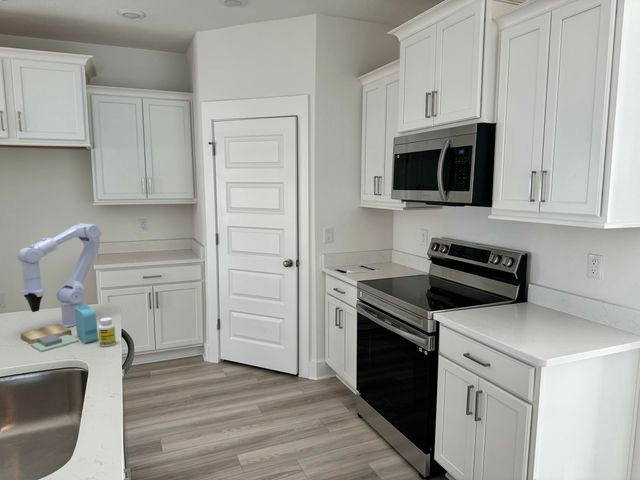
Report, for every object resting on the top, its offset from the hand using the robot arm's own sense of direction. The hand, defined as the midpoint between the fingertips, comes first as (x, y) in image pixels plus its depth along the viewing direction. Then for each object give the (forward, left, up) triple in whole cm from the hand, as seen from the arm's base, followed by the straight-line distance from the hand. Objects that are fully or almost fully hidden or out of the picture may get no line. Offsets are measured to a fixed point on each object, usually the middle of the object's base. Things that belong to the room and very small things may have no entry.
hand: (35, 311), depth 176 cm
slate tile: (+1, +16, -9) cm, 18 cm away
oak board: (-1, +6, -9) cm, 11 cm away
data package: (-10, +22, -10) cm, 26 cm away
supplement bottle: (-12, +34, -10) cm, 37 cm away
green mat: (0, +18, -9) cm, 20 cm away
